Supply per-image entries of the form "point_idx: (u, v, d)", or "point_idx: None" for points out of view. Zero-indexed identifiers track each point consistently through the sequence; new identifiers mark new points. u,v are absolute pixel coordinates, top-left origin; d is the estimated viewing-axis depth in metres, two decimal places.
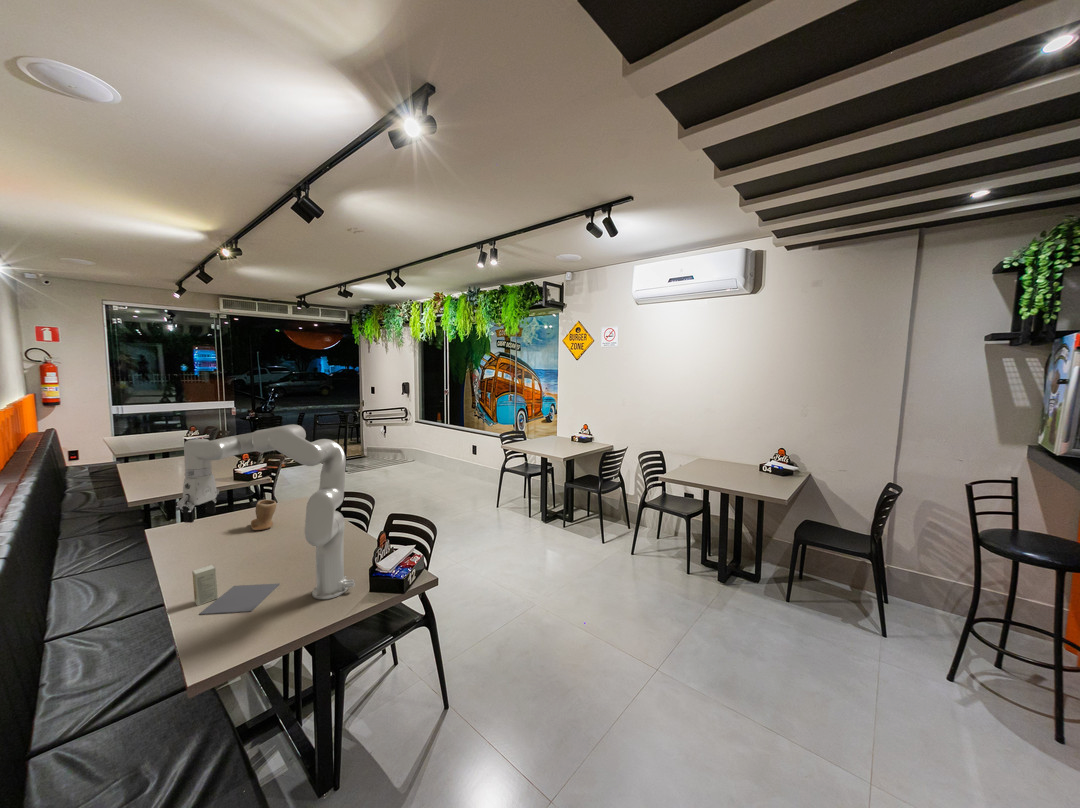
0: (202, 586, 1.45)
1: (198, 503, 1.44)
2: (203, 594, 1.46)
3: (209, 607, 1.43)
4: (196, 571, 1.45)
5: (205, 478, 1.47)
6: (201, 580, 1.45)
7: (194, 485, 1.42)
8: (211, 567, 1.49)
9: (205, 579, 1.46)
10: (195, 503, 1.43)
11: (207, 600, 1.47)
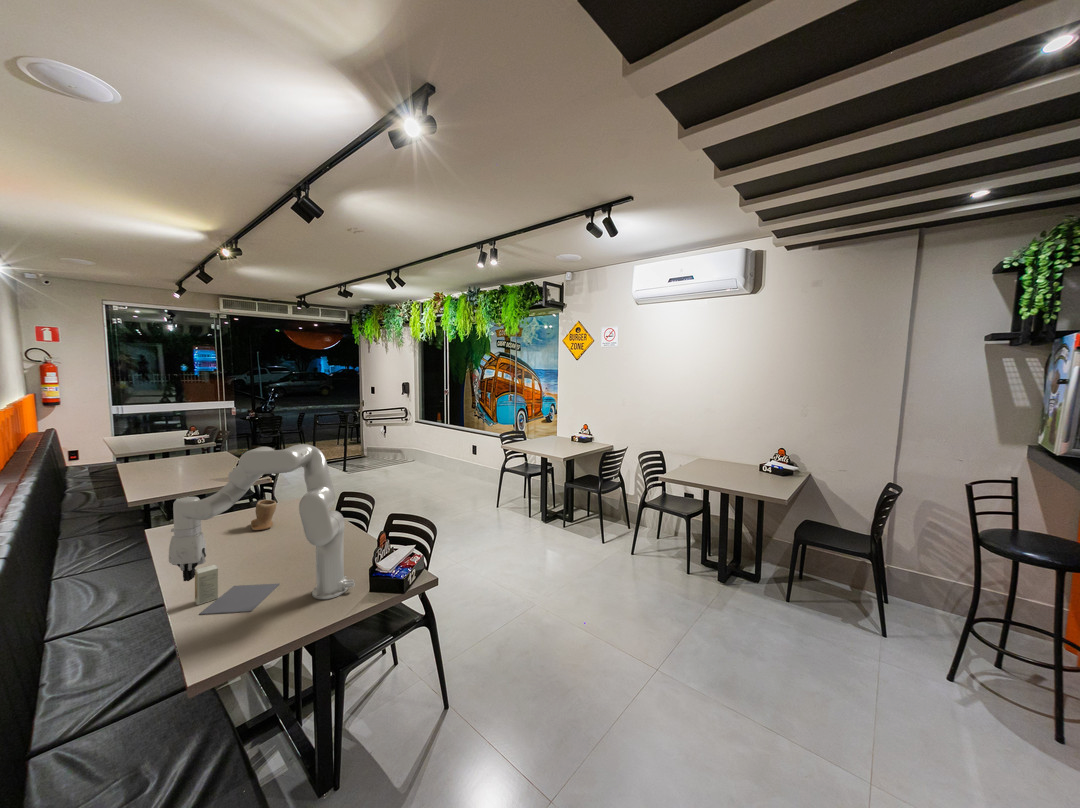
0: (203, 586, 1.45)
1: (171, 562, 1.43)
2: (204, 594, 1.46)
3: (209, 607, 1.43)
4: (199, 570, 1.45)
5: (181, 539, 1.43)
6: (203, 580, 1.45)
7: (170, 543, 1.43)
8: (214, 567, 1.48)
9: (207, 579, 1.46)
10: (169, 561, 1.43)
11: (207, 600, 1.47)
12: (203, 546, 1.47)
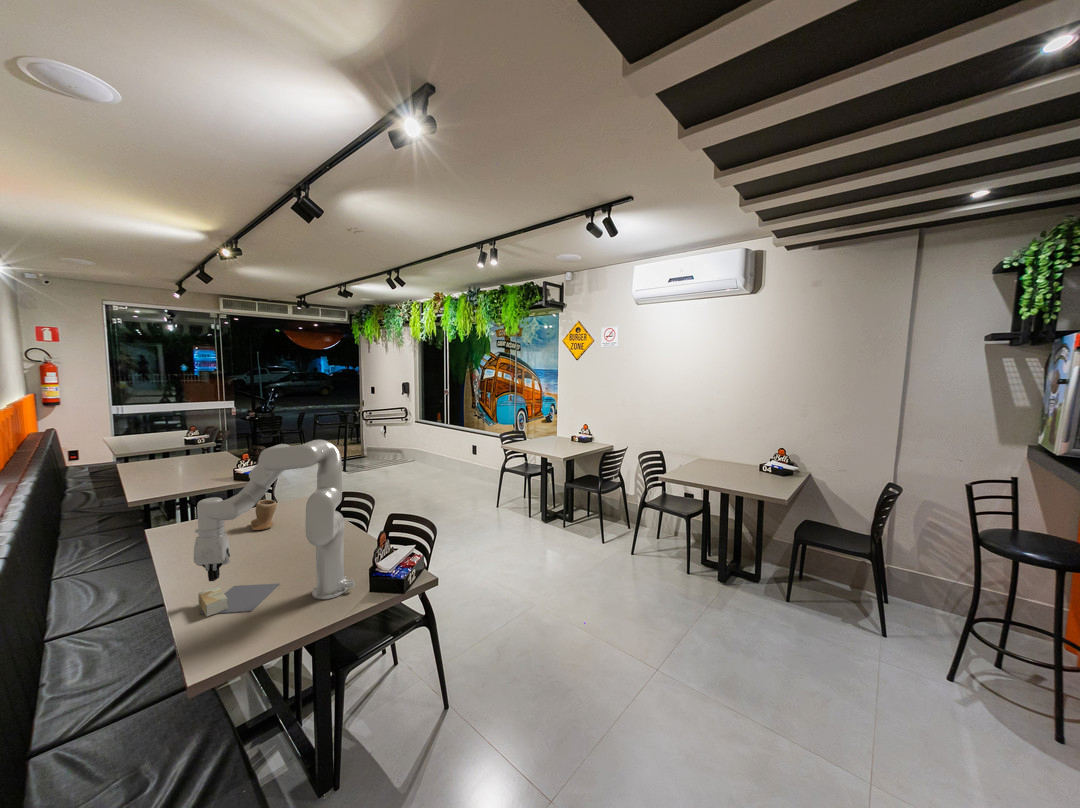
0: None
1: (196, 563, 1.44)
2: None
3: None
4: (209, 610, 1.38)
5: (205, 540, 1.44)
6: None
7: None
8: (224, 605, 1.41)
9: None
10: (194, 562, 1.44)
11: None
12: (227, 546, 1.48)
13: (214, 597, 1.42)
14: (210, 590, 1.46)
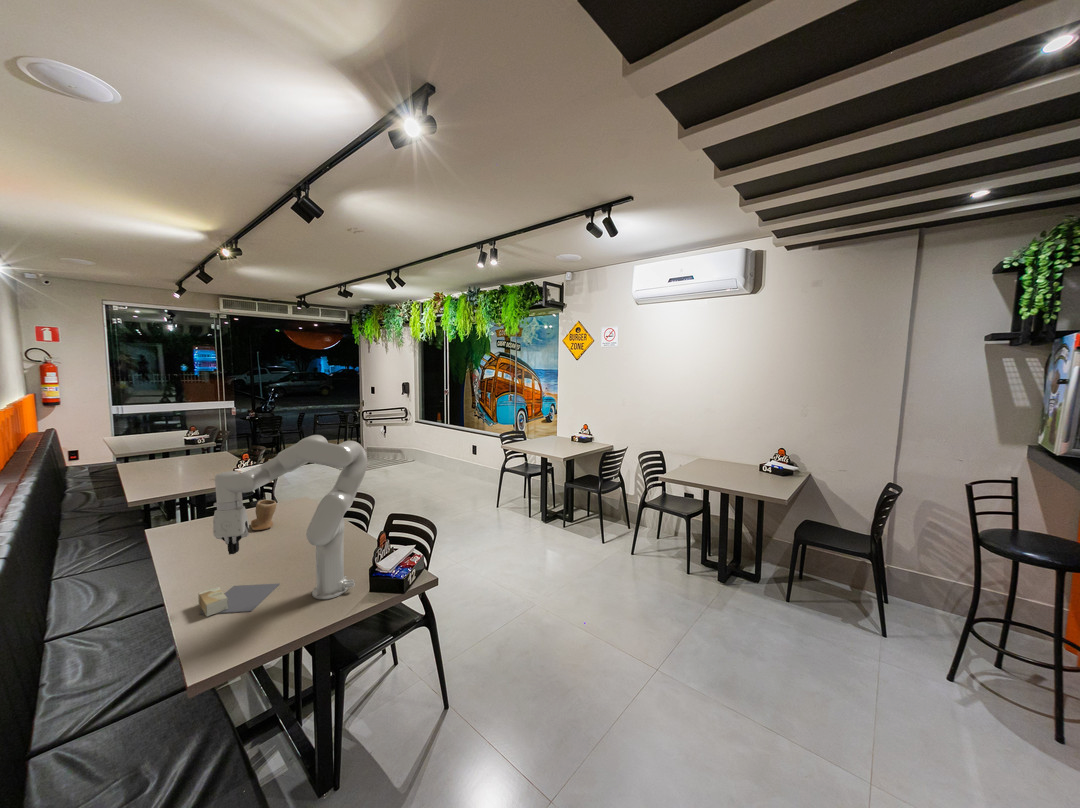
0: None
1: (216, 536, 1.44)
2: None
3: None
4: (209, 610, 1.38)
5: (224, 513, 1.44)
6: None
7: None
8: (224, 605, 1.41)
9: None
10: None
11: None
12: (246, 519, 1.48)
13: (214, 597, 1.42)
14: (210, 590, 1.46)
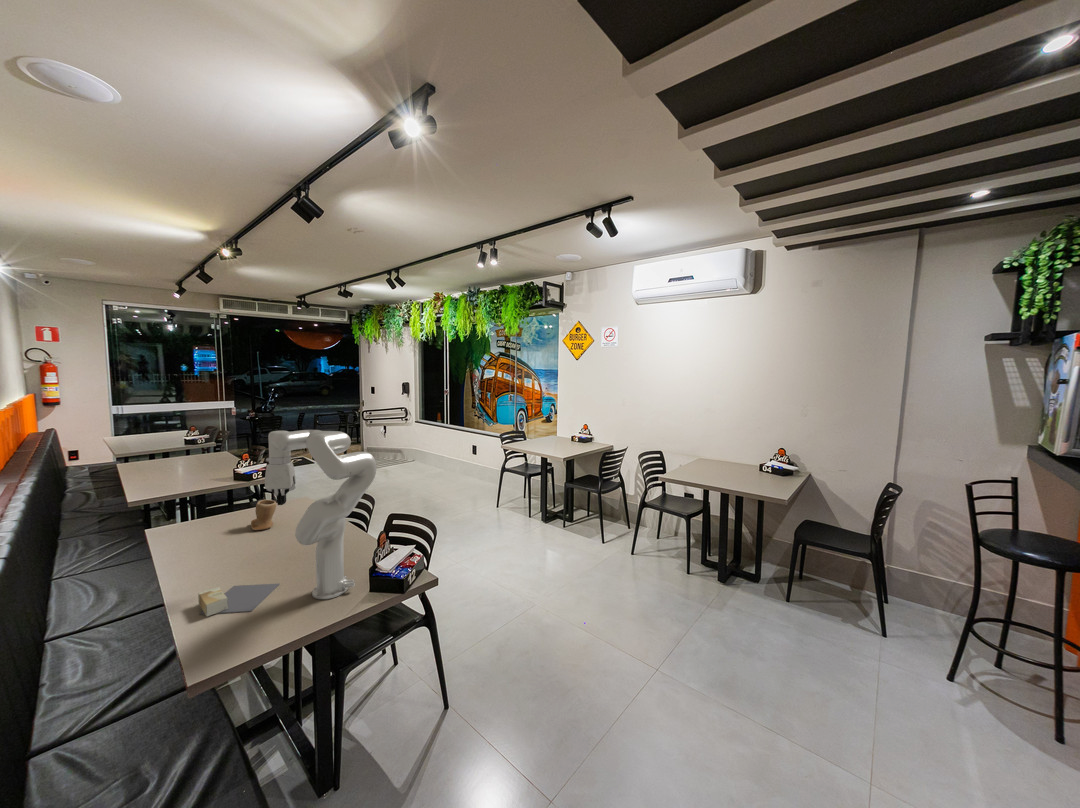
0: None
1: (267, 487, 1.61)
2: None
3: None
4: (209, 610, 1.38)
5: (276, 467, 1.61)
6: None
7: (266, 470, 1.61)
8: (224, 605, 1.41)
9: None
10: (265, 487, 1.61)
11: None
12: (293, 474, 1.64)
13: (214, 597, 1.42)
14: (210, 590, 1.46)
